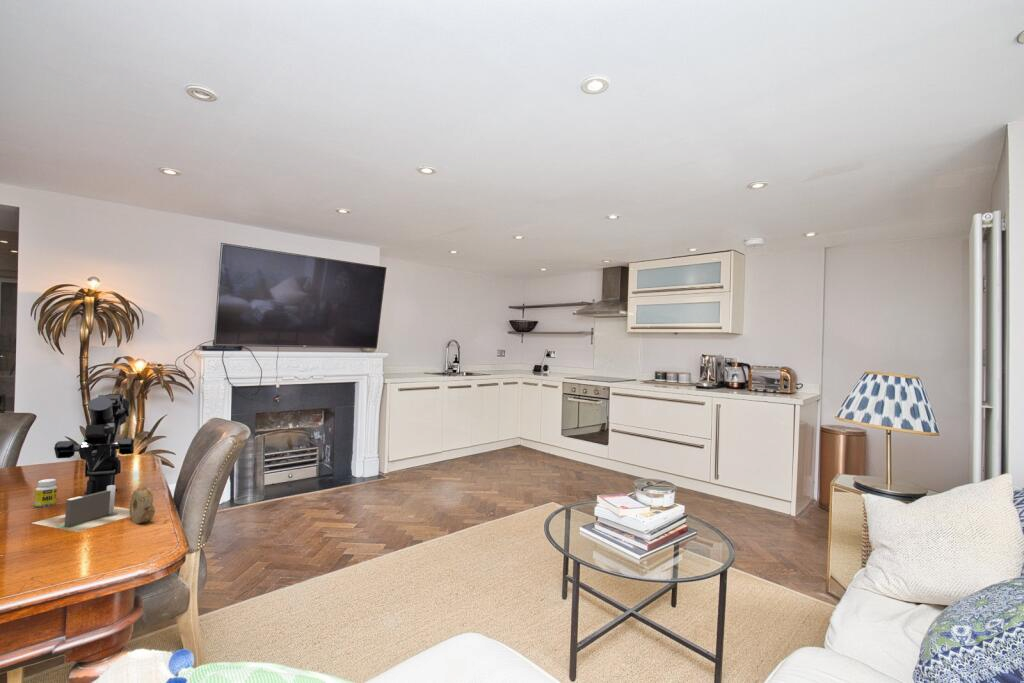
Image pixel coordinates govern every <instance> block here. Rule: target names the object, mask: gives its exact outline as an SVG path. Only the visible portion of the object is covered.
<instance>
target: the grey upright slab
mask: <svg viewBox="0 0 1024 683" xmlns="http://www.w3.org/2000/svg"><path fill="white" fill-rule="evenodd" d="M116 486H117V485H116V484H114V485H109V486H107V490H106V491H102V492H98V493H93V494H85V495H82V496H75V497H71V498H68V499H67V498H66V503H65V504H66V506H65V513H64V514H65V525H64V526H66V527H70V526H73V525H77V524H80V523H83V522H87V521H90V520H94V519H97V518H100V517H104V516H107V515H111V514H113V511H114V507H115V499H116V498H115V497H116V491H115V489H117V487H116Z"/></svg>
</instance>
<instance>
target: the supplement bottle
mask: <svg viewBox="0 0 1024 683" xmlns="http://www.w3.org/2000/svg"><path fill="white" fill-rule="evenodd" d="M56 483H57V480H56V479H55V478H46V479H41V480H39V481H38V482H37V487H36V488H35V490H34V491H35V492H34V502H33V508H34V509H46V508H51V507H53V506H55V505H56V500H57V490H58V487H57V485H56Z"/></svg>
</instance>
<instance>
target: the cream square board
mask: <svg viewBox="0 0 1024 683" xmlns="http://www.w3.org/2000/svg"><path fill="white" fill-rule="evenodd" d="M129 510H130V508H126V507H119V506H114V511H113V514H111V515H107V516H104V517H100V518H97V519H94V520H90V521H87V522H83V523H80V524H77V525H73V526H70V527H66V526H64V525H65V514H66V513H64V514H61V515H57V516H54V517H50V518H49V517H48V518H45V519H41V520H38V521H34V522H32V524H33V525H40V526H43V527H44V526H45V527H50V528H55V529H59V530H64V531H70V532H76V533H79V532H82V531H85V530H89V529H92V528H97V527H100V526H103V525H106V524H109V523H112V522H113V523H114V522H116V521H120V520H124V519H126V518H131V517H130V512H129Z"/></svg>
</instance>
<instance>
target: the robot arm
mask: <svg viewBox="0 0 1024 683" xmlns="http://www.w3.org/2000/svg"><path fill="white" fill-rule="evenodd" d="M87 404H88V405H87V410H88V415H89V419H90V424H89V425H86V426H85V431H84V437H83V438H84V439H83V442H82V443H80V444H75V441H74V440H62V441H61V440H59V441H57V442H56V443H55V444H54V447H53V449H54V454H55V457H56V459H70V458H72V457H74V456H75V453H79V459H81V460H85V466H84V477H85V478H87V477H88V480H87V481H86V489H85V490H86V491H84V492H83V494H85V495H89V494H93V493H98V492H102V491H106V490H107V486H109V485H115V480H116V475H118V474H121V471H122V463H121V462H122V461H121V460H120V459H119V458H120V457H119V456H118V454H120V455H123V456H124V455H126V456H127V455H133V454H134V452H135V439H134V438H132V437H130V438H129V437H128V438H126V437H125V438H118V434H119V430H120V426H122V425H124V424H125V423H127V419H128V418H129V417H130V415H131V403H130V401H128V400H127V399H126V398H125V396H124V394H122V393H108V394H98V396H97V397H95V398H93V399H91V400H90V401H88V403H87ZM117 438H118V440H117ZM117 450H118V451H117ZM117 491H118V489H117V488H115V492H117Z"/></svg>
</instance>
